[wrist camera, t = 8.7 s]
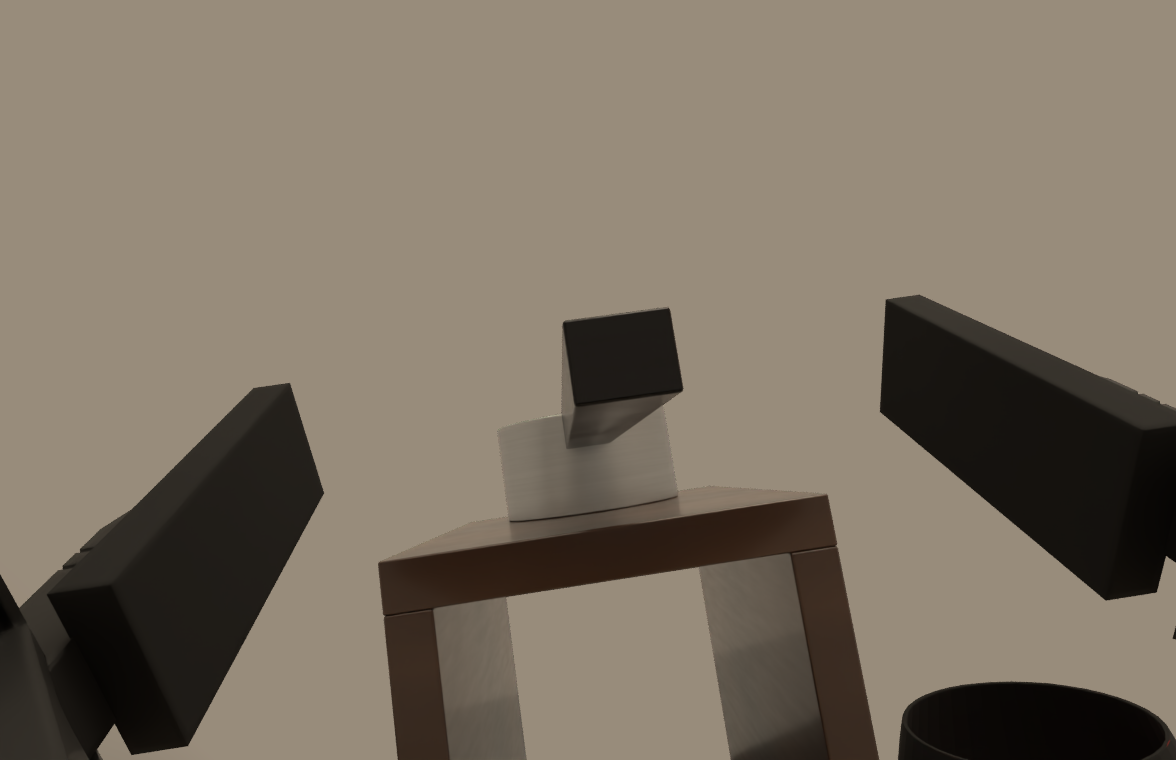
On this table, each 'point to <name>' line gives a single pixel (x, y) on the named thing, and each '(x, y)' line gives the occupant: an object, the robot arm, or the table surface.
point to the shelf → (623, 550)
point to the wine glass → (1030, 725)
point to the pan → (599, 423)
